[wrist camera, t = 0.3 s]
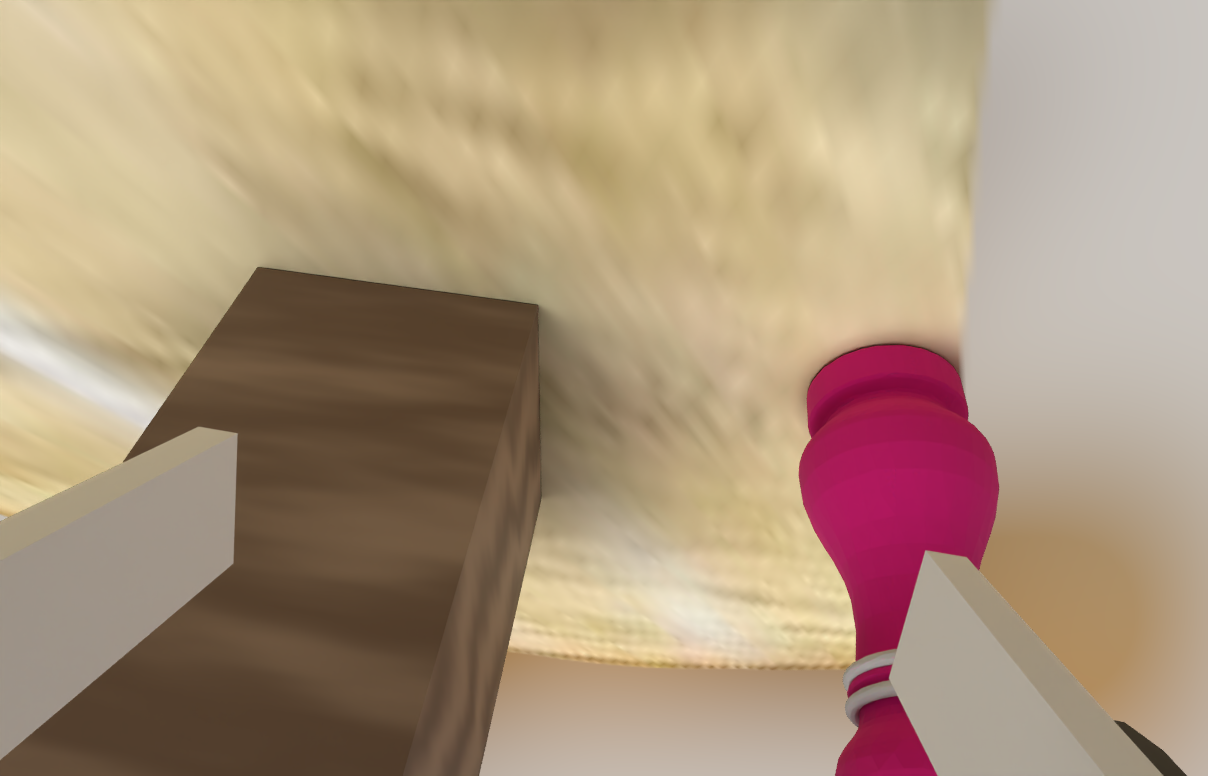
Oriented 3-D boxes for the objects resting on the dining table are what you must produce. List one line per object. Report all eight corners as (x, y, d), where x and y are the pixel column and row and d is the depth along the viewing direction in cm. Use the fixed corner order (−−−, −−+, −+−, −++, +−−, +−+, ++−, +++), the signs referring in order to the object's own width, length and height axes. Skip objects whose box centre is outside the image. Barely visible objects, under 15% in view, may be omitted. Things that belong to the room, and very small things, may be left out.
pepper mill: (810, 452, 35) (842, 982, 22) (780, 350, 30) (798, 950, 17) (975, 434, 33) (1122, 1021, 20) (972, 319, 28) (1162, 997, 15)
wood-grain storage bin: (226, 245, 30) (-897, 1725, 10) (562, 290, 30) (122, 1977, 9) (323, 476, 43) (-70, 1320, 23) (558, 510, 42) (373, 1412, 22)
